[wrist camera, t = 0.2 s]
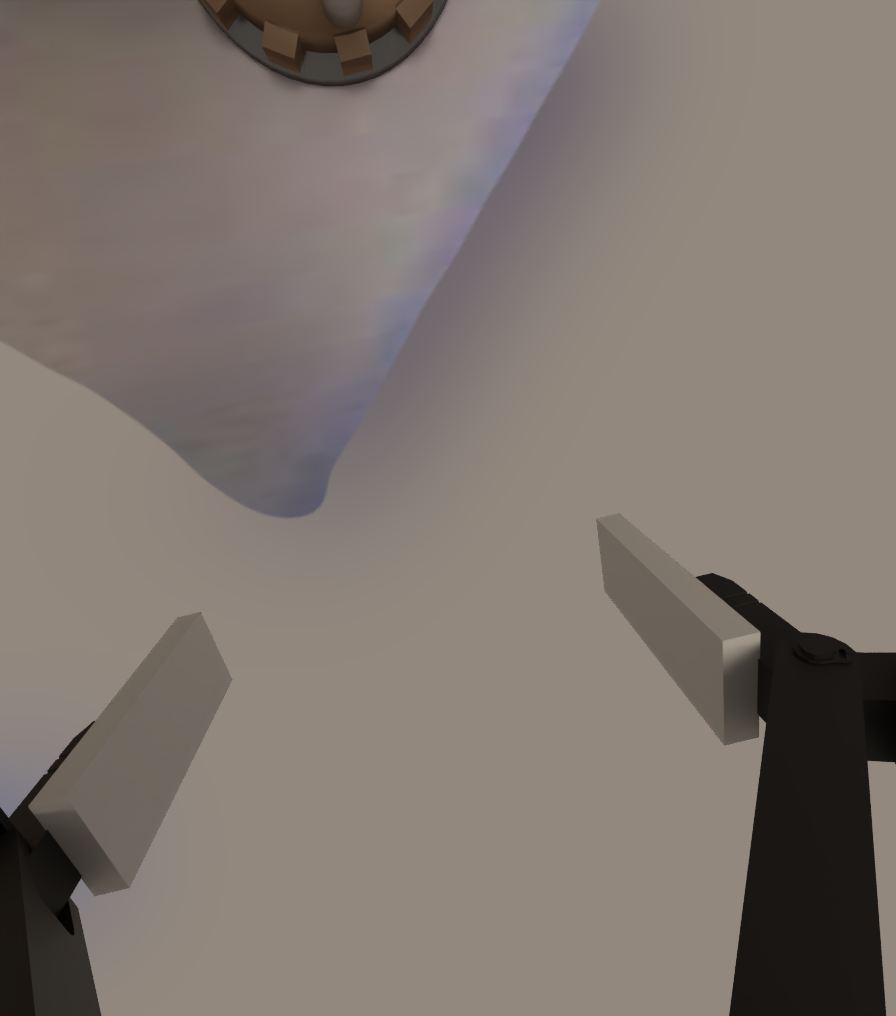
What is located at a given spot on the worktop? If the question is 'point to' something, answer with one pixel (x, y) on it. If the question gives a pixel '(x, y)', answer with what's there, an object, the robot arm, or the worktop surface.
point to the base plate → (328, 65)
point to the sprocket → (325, 26)
